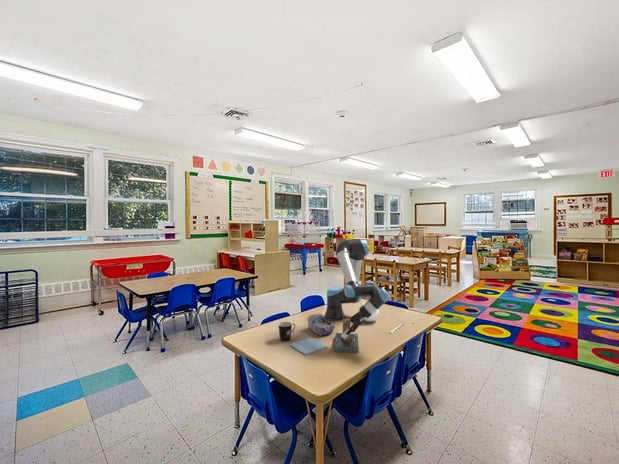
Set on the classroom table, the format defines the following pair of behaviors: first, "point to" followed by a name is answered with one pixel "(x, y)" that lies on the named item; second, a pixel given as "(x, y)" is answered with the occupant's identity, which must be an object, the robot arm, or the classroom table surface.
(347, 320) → the walnut peg
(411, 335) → the classroom table surface
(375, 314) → the geometric sphere
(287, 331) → the coffee mug
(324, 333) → the cell model
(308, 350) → the blue board
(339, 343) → the socket block
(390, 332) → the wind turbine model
